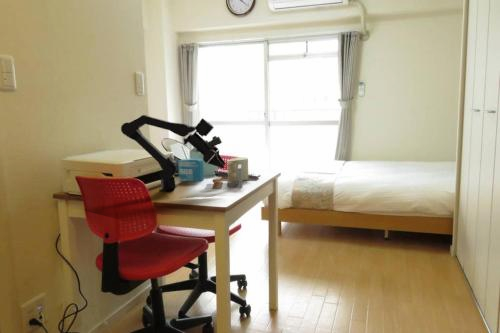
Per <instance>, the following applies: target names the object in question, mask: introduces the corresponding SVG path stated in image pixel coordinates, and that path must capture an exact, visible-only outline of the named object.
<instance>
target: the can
mask: <svg viewBox="0 0 500 333" xmlns="http://www.w3.org/2000/svg"><path fill="white" fill-rule="evenodd" d="M229 160H236V175H237V181H238V164H242V182H243V181H248V180H249V158H248V157H232V158H230V159H229Z"/></svg>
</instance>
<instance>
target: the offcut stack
mask: <svg viewBox="0 0 500 333" xmlns="http://www.w3.org/2000/svg"><path fill="white" fill-rule="evenodd" d="M223 183H224V181H223V176H215V177H214V178H213V179H212V184H213V188H222V185H223ZM222 189H223V188H222Z"/></svg>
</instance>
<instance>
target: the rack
mask: <svg viewBox="0 0 500 333" xmlns="http://www.w3.org/2000/svg"><path fill="white" fill-rule="evenodd" d="M213 184H214V183H207V184H206V186H205V187H204V190H215V189H221V190H222V189H239V188H240V189H242V188H244V187H243V186H244V182H243V181H242V164H238V181H237V183H228V182H223V185H222V188H213Z"/></svg>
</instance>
